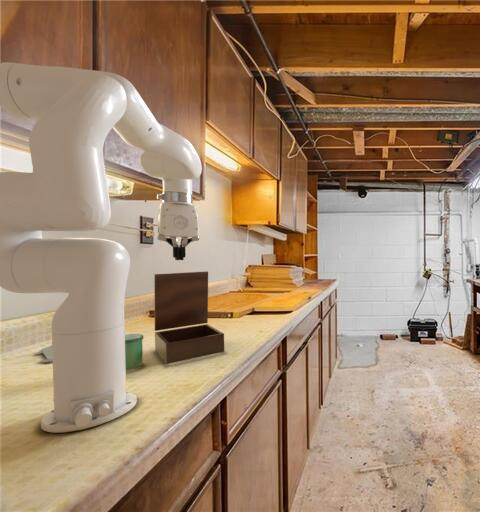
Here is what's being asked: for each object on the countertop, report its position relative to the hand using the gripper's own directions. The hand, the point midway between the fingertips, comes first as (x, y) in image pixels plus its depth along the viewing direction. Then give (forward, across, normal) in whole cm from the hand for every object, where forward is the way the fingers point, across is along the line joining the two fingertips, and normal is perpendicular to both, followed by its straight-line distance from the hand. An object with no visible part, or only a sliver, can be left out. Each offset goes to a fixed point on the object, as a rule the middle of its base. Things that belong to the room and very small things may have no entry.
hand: (179, 259), depth 96 cm
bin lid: (+12, 0, -4) cm, 13 cm away
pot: (+26, -14, -14) cm, 33 cm away
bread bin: (+26, 0, -11) cm, 28 cm away
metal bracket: (+26, -23, +14) cm, 38 cm away
